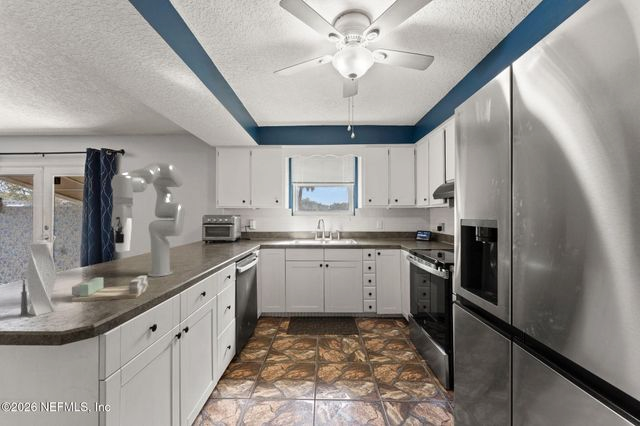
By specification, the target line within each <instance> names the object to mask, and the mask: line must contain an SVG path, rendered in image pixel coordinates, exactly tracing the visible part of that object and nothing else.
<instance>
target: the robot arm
mask: <svg viewBox="0 0 640 426" xmlns="http://www.w3.org/2000/svg"><path fill="white" fill-rule="evenodd" d="M150 184H152V185H153V187H154V190H155V192H156V201H155V206H154V216H155V217H156V218H158V219H155V220H153V221H150V222H149V224H148V231H149V232H148V233H149V238H150V271H149V272H148V273H147V277H153V278H154V277H156V278H157V277H164V276H165V277H166V276H170V275H172V274H173V273H174V272H173V270H171V269H170V268H171V265H170V263H171V262H170V260H171V259H170V258H171V256H170V253H171V252H170V251H171V249H170V247H171V246H170V242H169V239H167V237H178V236H179V237H180V236H181V235H182V233H183V231H184V230H183V228H184V224H185V223H184V221H185V211H186V210H185V207H184V204H182V203H181V202H173V200H174V195H173V193H172V192H171V190H169V189H168V188H180V187H182V186H183V185H184V177H183V174H182V173H181V171H179V169H178V168H177V167H176V166H175V165H174V164H172V163H169V162H165V163H164V162H153V163H150V164H148V165H146V166H144V167H142V168H138V169H133V170H129V171H125V172H121V173H119V174H114V175H113V176H112V179H111V182H110V186H111V189H112V211H111V227H112V228H113V231H114V230H115V235H114V243H124V234H123V230H124V227H126V222H127V218H132V219H133V209H132V207H134V193H143V192H144V191H146V190H147V188H148V185H150ZM119 223H120V225H122V227H119V226H118V225H119ZM120 228H121V230H120Z"/></svg>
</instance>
